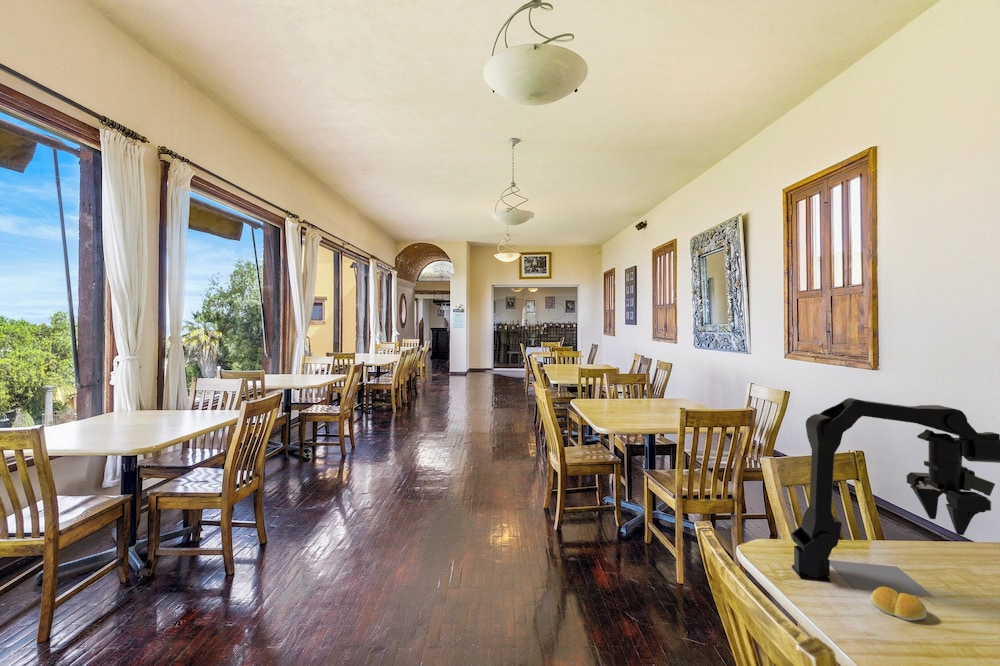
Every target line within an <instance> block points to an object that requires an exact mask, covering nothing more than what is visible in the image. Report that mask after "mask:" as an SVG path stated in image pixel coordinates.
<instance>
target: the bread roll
mask: <svg viewBox="0 0 1000 666" xmlns="http://www.w3.org/2000/svg"><path fill="white" fill-rule="evenodd" d="M870 603H871V605H872V606H873V607H875V608H876V609H878V610H879V611H880V612H882V613H885V614H888V615H891V616H895V617H897V618H899V619H900V620H901V619H902V620H904V621H907V622H909V621H910V622H913V621H919V620H924V619H926V617H927V608H926V605H925V604H924V603H923V601H922V600H921V599H919V598H918V597H916V596H914V595H913V594H906V593H898V592H896V591H895V590H893V589H891V588H888V587H879V588H877V589H876V590H873V591H872V593H871V595H870Z"/></svg>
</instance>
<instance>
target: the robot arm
mask: <svg viewBox="0 0 1000 666" xmlns="http://www.w3.org/2000/svg"><path fill="white" fill-rule="evenodd" d="M863 417H867V418H875V419H882V420H890V421H898V422H904V423H911V424H917V425H920V426H924V427H927V428H931V430H930V429H927V428H926V429H925V430H924V431H923V432H920V433H919V434H917V436H916V437H917V438H918V439H921V440H923V441H925V442H928V460H923V465H924V466H925V467H927V468H928V472H916V471H915V472H913V471H910V472H909V473H908V474H907V475H906V484H909V485H910V488H911V489H912V490H913V492H914V494H915V495H916V498H917V499H918V501H919V502H920V504H921V506H922V507H923V509H924V511H925V513H926V514H927V516H928V518H929V519H930V520H936V518H937V514H938V507H939V506H938V504H939V497H940V496H941V495H943V494H944V495H945V499H946V501H947V503H945V506H946V509H947V511H948V515H949V518H950V521H951V524H952V526H953V528H954V531H955V533H956V535H959V536H964V535H965V533H966V531H967V529H968V527H969V525H970V524H971V521H972V519H973V518H974V517H975V515H978V514H979V513H985V512H988V511H989V512H991V511H992V501H991V500H990V499H989V498H988V497H987V496H989V497H990V496H991V494H992V492H993V490H994V488H995V486H996V483H995V482H992V481H989V480H987V479H984V478H982V477H978V476H976V474H975V471H974V470H971V469H968V467H966V466H963V458H964V459H965V460H966V461H968V462H972V463H973V462H975V463H976V462H977V463H998V464H1000V434H999V433H996V432H993V431H992V432H990V431H985V432H977V431H976V430H975V428H974V427H973V426H972V425H971V424H970V422H968V417H967V416H966V414H965V413H964V412H963V411H962V410H961V409H956V408H953V407H949V406H943V405H939V404H936V405H935V404H930V405H929V404H926V405H925V404H924V405H913V406H910V405H909V406H908V405H902V404H893V403H888V402H887V403H886V402H885V403H884V402H879V401H878V402H877V401H871V400H870V401H869V400H865V399H864V400H862V399H859V398H854V397H849V398H846V399H844V400H843V401H841V402H840V403H838V404H835V405H833V406H831V407H828V408H826V409H825V410H823V411H821V412H820V413H816V414H815V413H814V414H811V415H810V416H809V417H808V418H807V419H806V420H805V429H806V437H807V439H808V443H809V445H810V448H811V459H810V460H811V462H810V463H811V465H810V482H809V483H810V486H809V487H810V488H809V505H808V507H807V509H806V510H805V511H804V513H803V518H802V521H801V525H800V526H798V528H796V529H795V530H794V531H792V532H791V534H790V536H791V538H792V541H793V542H794V543H795V544H796V545H794V546H793V559H794V561H793V564H792V565H791V568H792V570H793V571H794V572H795V574H797V576H798V578H800V579H801V580H806V581H813V582H814V581H815V582H825V583H831V582H832V581H831V578H829V577H830V575H831V573H830V572H831V569H830V567H831V565H830V560H831V559H829V558H830V556H831V553H832V551H833V549H834V548H836V547H837V546H838V544H839V540H841V541H842V540H843V539H842V538H843V537H842V536H841V531H842V530H841V529H842V525H843V524H842V522H841V521H840V520H839V519H837V518H836V517H835V516H834V515H833V511H832V510H833V509H832V508H833V491H834V489H833V487H834V486H833V485H834V469H835V468H834V464H835V453H836V452H837V450H839V447H840V446H841V443H842V438H843V434H844V433H845V432H846V431H848V430H850V429H851V428H852V427H853V426H854V425H855V424H856V422H857V421H858V420H859V419H860V418H863ZM932 429H934V430H938V431H941V433H940V432H938V433H937V432H934V431H933V430H932ZM942 432H945V433H942ZM948 433H949V434H948ZM951 434H952V435H955V436H958V437H953V436H952V435H951ZM972 490H974V491H972ZM975 491H977V492H979V493H977V492H975ZM981 493H982V494H984V495H982V494H981Z"/></svg>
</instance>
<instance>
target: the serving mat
mask: <svg viewBox="0 0 1000 666" xmlns="http://www.w3.org/2000/svg"><path fill="white" fill-rule="evenodd" d="M829 560H830V567H831V568H833V570H834V571H835V572H836V573H837V574H838V575H839V576H840V577H841V578H842V579H843V580H844V581H846V583H847V584H848V585H849V586H850V587H851V588H853V589H858V590H866V591H874V590H876V589H877V588H879V587H888V588H891V589H893V590H895V591H896V592H898V593H899V594H900V593H906V594H909V595H912V596H914V595H915V596H922V597H933V598H934V595H933V594H931V593H930V592H929V591H928V590H927V589H925V588H924V587H923V586H922V585H920V584H919V583H918V582H916V580H914V579H913V578H912V577H910V575H908V574H907V573H906V572H904V570H902V569H900V568H899V566H897V565H884V564H875V563H874V564H873V563H863V562H853V561H851V562H850V561H842V560H833V559H832V560H831V559H829Z"/></svg>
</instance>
